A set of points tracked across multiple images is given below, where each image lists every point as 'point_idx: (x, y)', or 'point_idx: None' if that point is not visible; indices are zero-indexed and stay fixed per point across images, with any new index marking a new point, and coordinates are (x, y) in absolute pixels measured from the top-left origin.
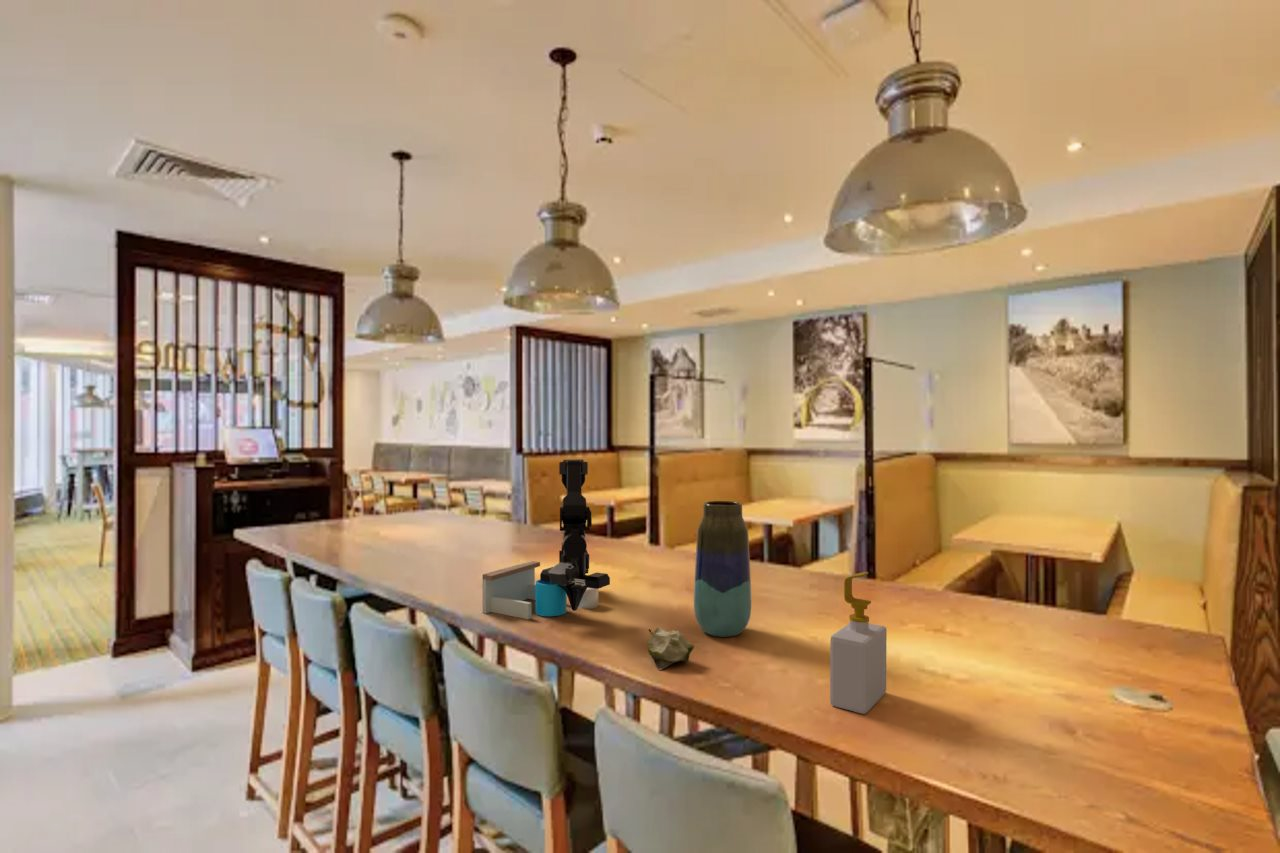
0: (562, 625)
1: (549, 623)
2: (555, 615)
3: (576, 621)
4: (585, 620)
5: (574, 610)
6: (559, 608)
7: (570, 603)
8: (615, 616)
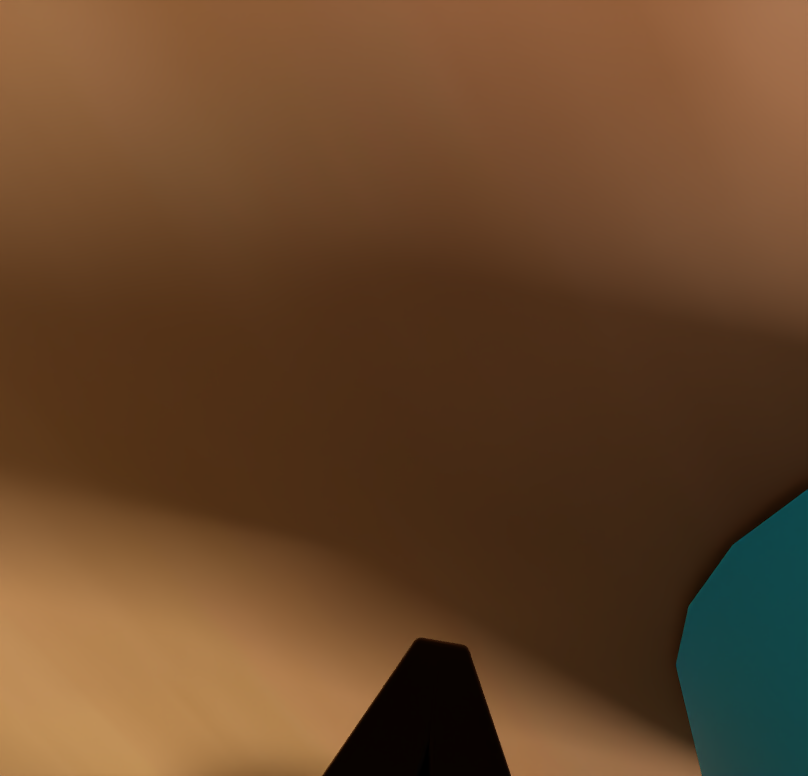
0: (363, 31)
1: (738, 21)
2: (797, 506)
3: (276, 379)
4: (187, 470)
5: (417, 639)
6: (769, 655)
7: (491, 765)
8: (3, 696)
